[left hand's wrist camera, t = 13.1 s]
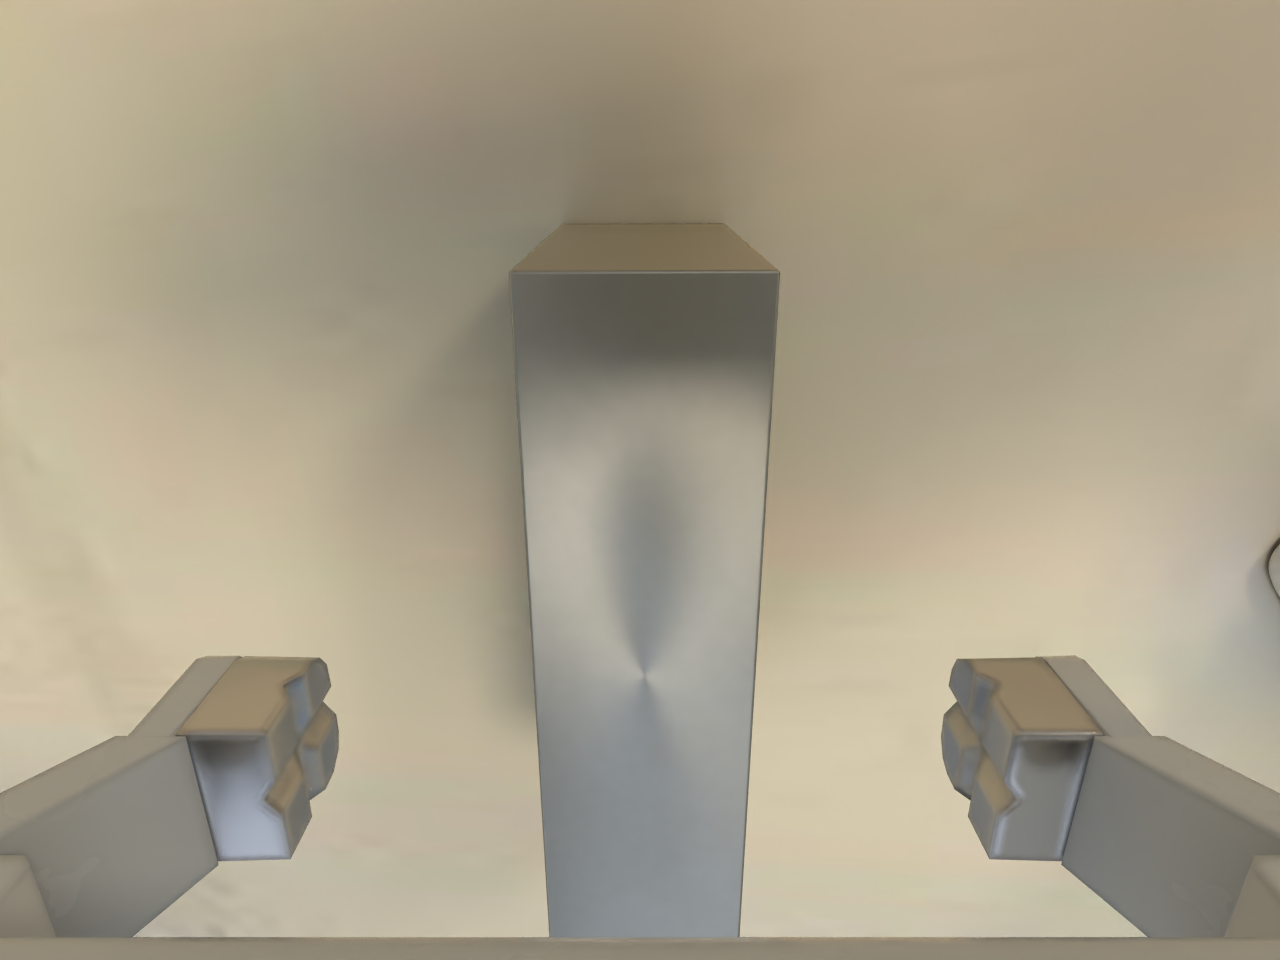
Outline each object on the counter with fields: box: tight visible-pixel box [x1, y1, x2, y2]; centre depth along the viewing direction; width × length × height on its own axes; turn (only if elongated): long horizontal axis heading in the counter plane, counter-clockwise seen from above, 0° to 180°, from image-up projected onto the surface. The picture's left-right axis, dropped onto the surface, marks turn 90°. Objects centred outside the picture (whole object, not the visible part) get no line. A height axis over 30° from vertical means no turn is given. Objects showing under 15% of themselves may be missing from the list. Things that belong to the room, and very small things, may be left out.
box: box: [509, 224, 780, 937], centre depth 28 cm, size 21×6×13 cm, turn 0°
